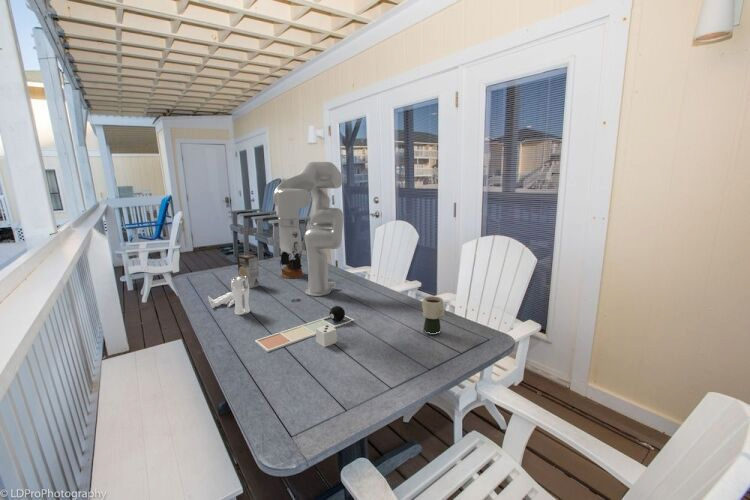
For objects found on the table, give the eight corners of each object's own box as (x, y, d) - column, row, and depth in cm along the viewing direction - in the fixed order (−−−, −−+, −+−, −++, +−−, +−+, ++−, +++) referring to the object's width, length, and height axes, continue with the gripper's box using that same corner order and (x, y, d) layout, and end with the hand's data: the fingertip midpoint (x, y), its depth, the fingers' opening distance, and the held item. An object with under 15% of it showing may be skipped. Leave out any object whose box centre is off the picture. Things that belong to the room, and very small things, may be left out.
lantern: (309, 276, 197) (307, 224, 190) (287, 280, 189) (284, 226, 182) (296, 270, 210) (293, 221, 203) (275, 273, 202) (272, 222, 196)
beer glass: (245, 316, 142) (242, 281, 138) (230, 314, 143) (226, 280, 140) (254, 309, 148) (251, 276, 145) (239, 308, 150) (236, 275, 147)
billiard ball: (326, 321, 137) (326, 307, 136) (337, 316, 141) (336, 302, 140) (337, 325, 133) (337, 310, 132) (348, 320, 138) (347, 306, 137)
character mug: (449, 335, 125) (451, 301, 122) (436, 341, 121) (437, 306, 118) (428, 325, 134) (429, 293, 131) (414, 330, 129) (415, 297, 127)
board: (339, 314, 144) (339, 312, 144) (354, 321, 137) (354, 319, 137) (254, 342, 120) (254, 340, 120) (267, 352, 113) (267, 350, 113)
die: (328, 337, 123) (327, 324, 122) (336, 342, 120) (336, 328, 119) (316, 342, 120) (315, 328, 119) (324, 347, 116) (324, 333, 115)
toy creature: (206, 293, 156) (232, 283, 161) (210, 305, 158) (237, 295, 163) (209, 301, 146) (238, 290, 151) (214, 314, 148) (242, 302, 153)
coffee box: (238, 285, 180) (236, 255, 177) (248, 282, 186) (246, 253, 182) (250, 288, 176) (247, 258, 172) (260, 285, 181) (258, 255, 178)
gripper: (308, 224, 126) (310, 269, 130) (287, 220, 139) (289, 261, 143) (289, 226, 121) (292, 273, 125) (269, 221, 134) (272, 264, 138)
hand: (290, 266), depth 134 cm, fingers open, 9 cm apart
